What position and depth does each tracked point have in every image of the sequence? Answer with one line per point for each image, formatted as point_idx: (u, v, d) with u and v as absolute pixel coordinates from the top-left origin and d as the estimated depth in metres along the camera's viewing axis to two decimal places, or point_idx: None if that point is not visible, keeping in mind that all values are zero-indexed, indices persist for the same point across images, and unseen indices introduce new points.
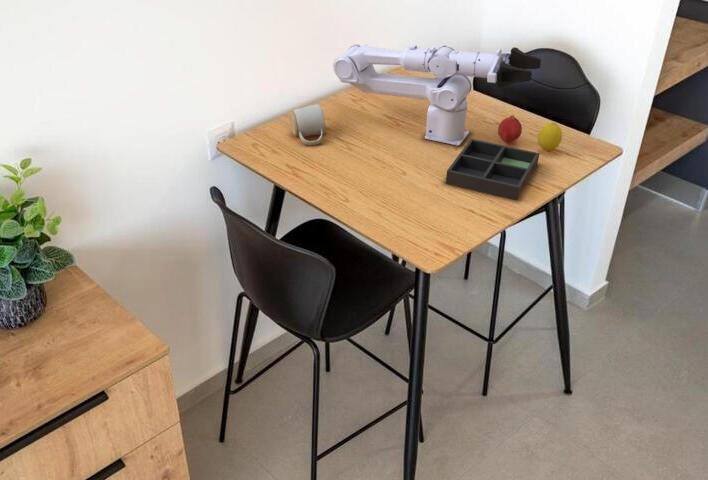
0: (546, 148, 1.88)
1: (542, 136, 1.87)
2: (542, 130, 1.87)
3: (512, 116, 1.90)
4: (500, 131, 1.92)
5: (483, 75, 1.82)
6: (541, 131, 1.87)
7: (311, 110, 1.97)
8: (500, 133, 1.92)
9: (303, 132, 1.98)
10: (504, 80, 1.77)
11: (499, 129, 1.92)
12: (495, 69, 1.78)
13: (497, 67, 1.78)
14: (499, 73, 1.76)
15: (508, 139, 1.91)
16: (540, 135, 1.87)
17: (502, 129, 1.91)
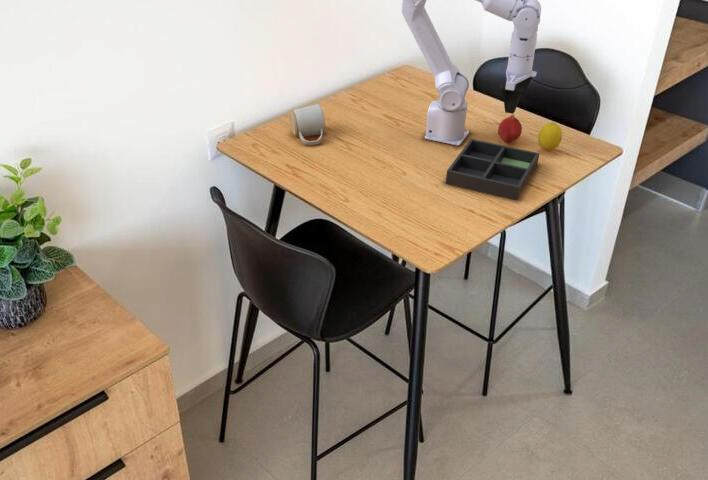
0: (546, 148, 1.88)
1: (542, 136, 1.87)
2: (542, 130, 1.87)
3: (512, 116, 1.90)
4: (500, 131, 1.92)
5: (511, 63, 1.80)
6: (541, 131, 1.87)
7: (311, 110, 1.97)
8: (500, 133, 1.92)
9: (303, 132, 1.98)
10: (506, 91, 1.82)
11: (499, 129, 1.92)
12: None
13: None
14: (514, 91, 1.80)
15: (508, 139, 1.91)
16: (540, 135, 1.87)
17: (502, 129, 1.91)
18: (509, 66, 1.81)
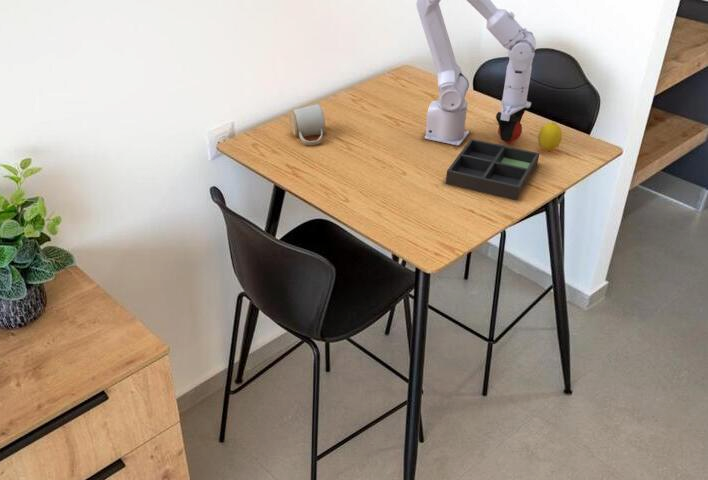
0: (546, 148, 1.88)
1: (542, 136, 1.87)
2: (542, 130, 1.87)
3: None
4: None
5: (506, 94, 1.85)
6: (541, 131, 1.87)
7: (311, 110, 1.97)
8: None
9: (303, 132, 1.98)
10: (502, 120, 1.87)
11: (499, 129, 1.92)
12: None
13: (514, 110, 1.86)
14: (510, 120, 1.85)
15: None
16: (540, 135, 1.87)
17: None
18: (504, 97, 1.86)
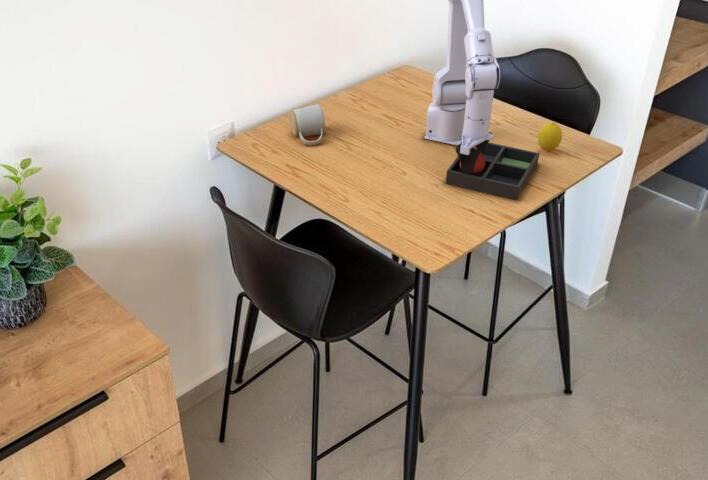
0: (546, 148, 1.88)
1: (542, 136, 1.87)
2: (542, 130, 1.87)
3: None
4: None
5: (466, 126, 1.72)
6: (541, 131, 1.87)
7: (311, 110, 1.97)
8: None
9: (303, 132, 1.98)
10: None
11: None
12: None
13: (474, 143, 1.73)
14: (470, 153, 1.72)
15: None
16: (540, 135, 1.87)
17: None
18: (464, 128, 1.73)
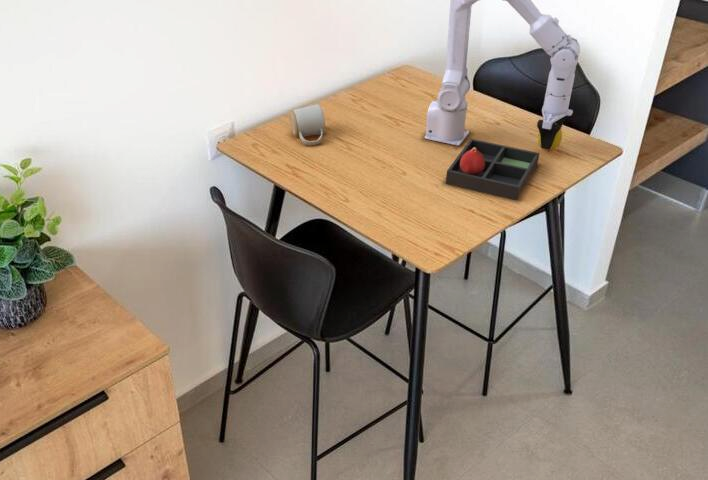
0: None
1: None
2: None
3: (474, 149, 1.77)
4: (461, 165, 1.79)
5: (548, 102, 1.81)
6: None
7: (311, 110, 1.97)
8: (462, 167, 1.79)
9: (303, 132, 1.98)
10: (543, 127, 1.83)
11: (461, 163, 1.79)
12: None
13: (555, 118, 1.82)
14: (551, 128, 1.81)
15: (470, 173, 1.78)
16: None
17: (463, 163, 1.78)
18: (545, 104, 1.82)
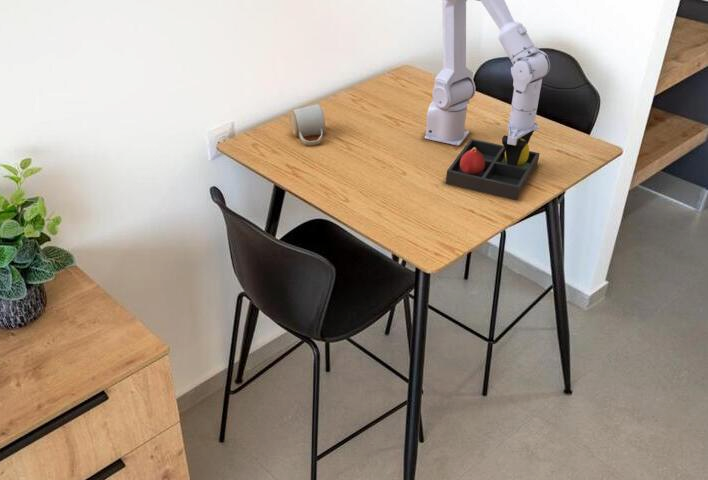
0: None
1: None
2: None
3: (474, 149, 1.77)
4: (461, 165, 1.79)
5: (513, 116, 1.74)
6: None
7: (311, 110, 1.97)
8: (462, 167, 1.79)
9: (303, 132, 1.98)
10: (508, 144, 1.76)
11: (461, 163, 1.79)
12: None
13: None
14: (516, 144, 1.74)
15: (470, 173, 1.78)
16: None
17: (463, 163, 1.78)
18: (511, 119, 1.75)
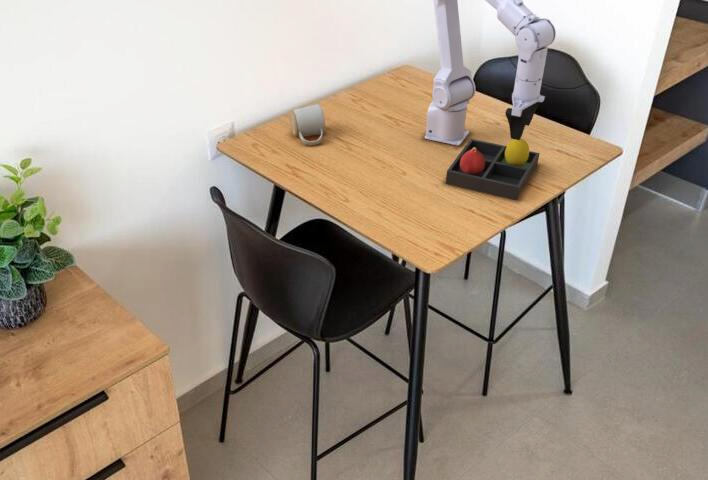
0: (513, 164, 1.81)
1: (508, 152, 1.80)
2: (508, 146, 1.80)
3: (474, 149, 1.77)
4: (461, 165, 1.79)
5: (517, 87, 1.70)
6: (507, 147, 1.80)
7: (311, 110, 1.97)
8: (462, 167, 1.79)
9: (303, 132, 1.98)
10: (512, 116, 1.71)
11: (461, 163, 1.79)
12: None
13: None
14: (520, 116, 1.69)
15: (470, 173, 1.78)
16: (506, 151, 1.81)
17: (463, 163, 1.78)
18: (515, 90, 1.71)
